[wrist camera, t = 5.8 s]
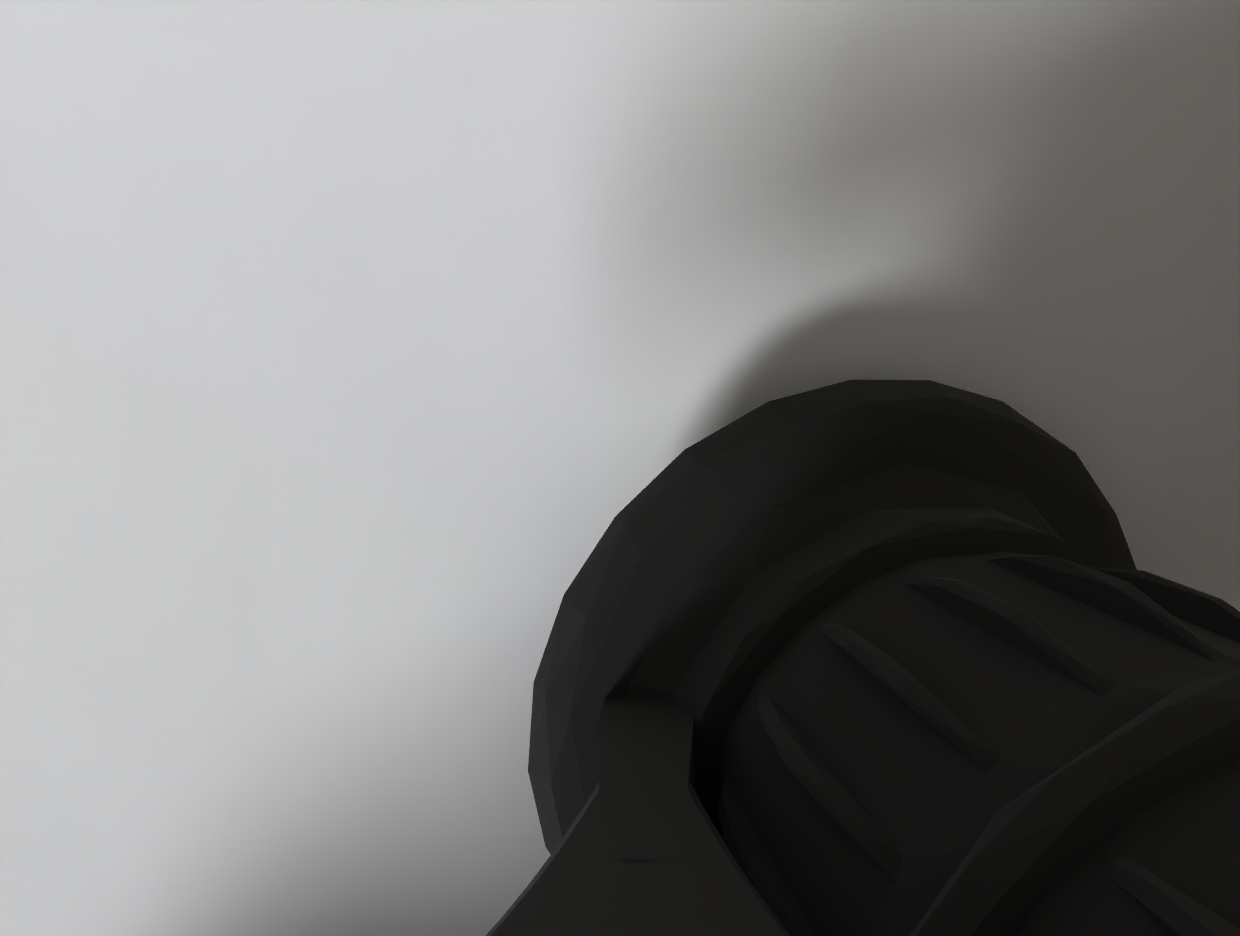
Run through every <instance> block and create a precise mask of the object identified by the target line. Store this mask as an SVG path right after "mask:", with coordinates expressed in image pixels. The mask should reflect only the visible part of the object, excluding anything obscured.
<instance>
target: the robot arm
mask: <svg viewBox="0 0 1240 936" xmlns="http://www.w3.org/2000/svg"><path fill="white" fill-rule="evenodd" d="M486 936H790V934H789V933H788V932H787V931H786V929H785V928H784V927H783V926H782V924H781V923H780V922H779V920H778V919H777V917H776V916H775V915H774V913H773V912H772V911H771V909H770V908H769V907H768V905H767V904H766V903H765V901H764V900H763V899H762V897H761V896H760V895H759V893H758V892H757V890H756V889H755V888H754V886H753V885H752V883H751V882H750V880H749V879H748V878H747V876H746V875H745V873H744V872H743V870H742V869H741V867H740V866H739V864H738V863H737V861H736V860H735V858H734V857H733V855H732V854H731V852H730V850H729V849H728V847H727V846H726V844H725V842H724V841H723V839H722V838H721V836H720V834H719V833H718V831H717V830H716V828H715V826H714V825H713V823H712V821H711V819H710V818H709V816H708V814H707V812H706V811H705V809H704V807H703V806H702V804H701V802H700V800H699V798H698V796H697V794H696V792H695V790H694V732H693V715H692V714H691V713H689V712H688V711H686V710H685V709H683V708H682V707H680V706H678V705H676V704H674V703H672V702H671V701H669V700H662V699H654V698H648V697H640V696H631V695H624V696H612V697H605V700H604V704H603V707H602V711H601V715H600V720H599V782H598V784H597V785H596V787H595V789H594V791H593V792H592V794H591V796H590V797H589V799H588V801H587V802H586V804H585V805H584V807H583V808H582V810H581V811H580V813H579V814H578V816H577V817H576V819H575V820H574V822H573V823H572V825H571V826H570V828H569V829H568V831H567V832H566V834H565V836H564V837H563V839H562V840H561V842H560V843H559V845H558V846H557V848H556V849H555V850H554V852H553V853H552V855H551V856H550V857H549V859H548V860H547V861H546V863H545V864H544V865H543V867H542V868H541V869H540V871H539V872H538V873H537V875H536V876H535V877H534V879H533V880H532V881H531V882H530V884H529V885H528V886H527V888H526V889H525V890H524V891H523V893H522V894H521V895H520V896H519V897H518V899H517V900H516V901H515V902H514V904H513V905H512V906H511V907H510V908H509V910H508V911H507V912H506V913H505V915H504V916H503V917H502V918H501V919H500V920H499V922H498V923H497V924H496V925H495V926H494V927H493V928H492V929H491V931H490V932H489V933H488V934H487V935H486Z"/></svg>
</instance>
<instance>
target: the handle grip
mask: <svg viewBox="0 0 1240 936" xmlns="http://www.w3.org/2000/svg"><path fill="white" fill-rule="evenodd" d="M624 695H631V696H640V697H648V698H654V699H662V700H669V701H671V702H672V703H674V704H676V705H678V706H680V707H682V708H683V709H685V710H686V711H688V712H689V713H691V714H692V715H693V732H694V790H695V792H696V794H697V796H698V798H699V800H700V802H701V804H702V806H703V807H704V809H705V811H706V812H707V814H708V816H709V818H710V819H711V821H712V823H713V825H714V826H715V828H716V830H717V831H718V833H719V834H720V836H721V838H722V839H723V841H724V842H725V844H726V846H727V847H728V849H729V850H730V852H731V854H732V855H733V857H734V858H735V860H736V861H737V863H738V864H739V866H740V867H741V869H742V870H743V872H744V873H745V875H746V876H747V878H748V879H749V880H750V882H751V883H752V885H753V886H754V888H755V889H756V890H757V892H758V893H759V895H760V896H761V897H762V899H763V900H764V901H765V903H766V904H767V905H768V907H769V908H770V909H771V911H772V912H773V913H774V915H775V916H776V917H777V919H778V920H779V922H780V923H781V924H782V926H783V927H784V928H785V929H786V931H787V932H788V933H789V934H790V936H1240V612H1239V611H1238V610H1237V609H1235V608H1234V607H1232V606H1231V605H1229V604H1228V603H1226V602H1225V601H1223V600H1222V599H1219V598H1217V597H1214V596H1211V595H1208V594H1206V593H1203V592H1200V591H1197V590H1195V589H1192V588H1189V587H1186V586H1184V585H1181V584H1178V583H1175V582H1173V581H1170V580H1167V579H1164V578H1162V577H1159V576H1156V575H1153V574H1151V573H1148V572H1145V571H1139V570H1137V569H1136V566H1135V564H1134V561H1133V558H1132V556H1131V553H1130V550H1129V548H1128V545H1127V542H1126V540H1125V537H1124V534H1123V532H1122V529H1121V526H1120V523H1119V521H1118V518H1117V515H1116V513H1115V512H1114V510H1113V509H1112V507H1111V506H1110V504H1109V503H1108V501H1107V500H1106V498H1105V497H1104V495H1103V494H1102V492H1101V491H1100V489H1099V488H1098V486H1097V485H1096V483H1095V482H1094V480H1093V479H1092V477H1091V476H1090V474H1089V473H1088V471H1087V469H1086V468H1085V466H1084V465H1083V463H1082V462H1081V460H1080V459H1079V457H1078V456H1077V454H1076V453H1075V452H1073V451H1072V450H1071V449H1069V448H1068V447H1066V446H1065V445H1063V444H1062V443H1061V442H1059V441H1058V440H1056V439H1055V438H1054V437H1052V436H1051V435H1049V434H1048V433H1046V432H1045V431H1044V430H1042V429H1041V428H1039V427H1038V426H1037V425H1035V424H1034V423H1032V422H1031V421H1029V420H1028V419H1027V418H1025V417H1024V416H1022V415H1021V414H1019V413H1018V412H1017V411H1015V410H1014V409H1012V408H1011V407H1010V406H1008V405H1007V404H1005V403H1004V402H1002V401H999V400H995V399H992V398H988V397H985V396H982V395H978V394H975V393H971V392H968V391H964V390H961V389H957V388H954V387H951V386H947V385H944V384H940V383H937V382H933V381H930V380H849V381H845V382H841V383H837V384H834V385H830V386H826V387H822V388H819V389H815V390H811V391H807V392H803V393H800V394H796V395H792V396H788V397H785V398H781V399H777V400H773V401H770V402H767V403H765V404H764V405H762V406H760V407H758V408H757V409H755V410H753V411H751V412H750V413H748V414H746V415H744V416H743V417H741V418H739V419H737V420H736V421H734V422H732V423H731V424H729V425H727V426H725V427H724V428H722V429H720V430H718V431H717V432H715V433H713V434H711V435H710V436H708V437H706V438H704V439H703V440H701V441H699V442H697V443H696V444H694V445H692V446H690V447H689V448H687V449H685V450H684V451H683V452H682V453H681V454H680V455H679V456H678V457H677V458H676V459H675V460H674V461H673V462H672V463H670V464H669V465H668V466H667V467H666V468H665V469H664V470H663V471H662V472H661V473H660V474H659V475H658V476H657V477H656V478H655V479H654V480H653V481H652V482H651V483H650V484H649V485H648V486H647V487H646V488H645V489H643V490H642V491H641V492H640V493H639V494H638V495H637V496H636V497H635V498H634V499H633V500H632V501H631V502H630V503H629V504H628V505H627V506H626V507H625V508H624V509H623V510H622V511H621V512H620V513H619V514H618V515H617V516H616V517H615V518H614V520H613V521H612V523H611V524H610V526H609V527H608V529H607V530H606V532H605V533H604V535H603V536H602V538H601V539H600V541H599V542H598V544H597V545H596V547H595V548H594V550H593V552H592V553H591V555H590V556H589V558H588V559H587V561H586V562H585V564H584V565H583V567H582V568H581V570H580V571H579V573H578V574H577V576H576V577H575V579H574V580H573V582H572V583H571V585H570V587H569V588H568V590H567V591H566V593H565V594H564V596H563V599H562V602H561V605H560V608H559V611H558V614H557V617H556V619H555V622H554V625H553V628H552V631H551V634H550V637H549V640H548V643H547V646H546V648H545V651H544V654H543V657H542V660H541V663H540V666H539V669H538V672H537V675H536V677H535V680H534V687H533V703H532V718H531V734H530V749H529V765H528V772H529V776H530V781H531V785H532V789H533V794H534V798H535V802H536V807H537V811H538V815H539V820H540V824H541V828H542V833H543V837H544V841H545V846H546V848H547V849H548V851H549V853H550V854H551V855H552V853H553V852H554V850H555V849H556V848H557V846H558V845H559V843H560V842H561V840H562V839H563V837H564V836H565V834H566V832H567V831H568V829H569V828H570V826H571V825H572V823H573V822H574V820H575V819H576V817H577V816H578V814H579V813H580V811H581V810H582V808H583V807H584V805H585V804H586V802H587V801H588V799H589V797H590V796H591V794H592V792H593V791H594V789H595V787H596V785H597V784H598V782H599V720H600V715H601V711H602V707H603V704H604V700H605V697H612V696H624Z"/></svg>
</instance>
